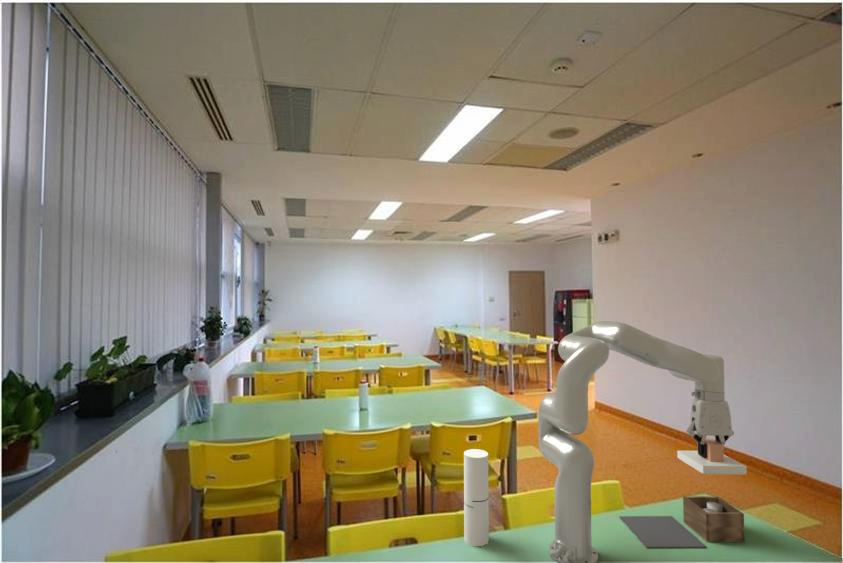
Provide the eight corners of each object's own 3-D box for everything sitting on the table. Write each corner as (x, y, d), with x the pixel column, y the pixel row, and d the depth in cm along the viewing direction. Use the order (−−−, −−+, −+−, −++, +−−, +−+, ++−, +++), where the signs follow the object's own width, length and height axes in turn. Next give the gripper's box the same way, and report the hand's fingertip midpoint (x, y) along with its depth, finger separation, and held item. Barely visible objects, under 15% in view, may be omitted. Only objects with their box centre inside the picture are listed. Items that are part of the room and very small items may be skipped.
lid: (703, 473, 126) (702, 448, 127) (677, 457, 139) (677, 434, 139) (746, 474, 126) (746, 448, 127) (717, 458, 139) (716, 434, 139)
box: (706, 541, 126) (706, 513, 127) (683, 522, 137) (683, 496, 138) (744, 541, 127) (743, 513, 127) (718, 522, 138) (717, 496, 138)
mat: (646, 548, 123) (646, 546, 123) (619, 517, 140) (619, 516, 140) (706, 547, 124) (706, 546, 124) (671, 517, 140) (671, 516, 140)
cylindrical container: (488, 548, 124) (487, 458, 124) (463, 545, 125) (462, 456, 126) (489, 534, 131) (488, 449, 131) (465, 531, 132) (465, 448, 133)
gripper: (689, 398, 130) (690, 461, 129) (746, 399, 130) (747, 461, 129) (675, 392, 137) (675, 451, 136) (728, 393, 137) (729, 452, 136)
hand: (710, 455), depth 133 cm, fingers closed on lid, 4 cm apart
